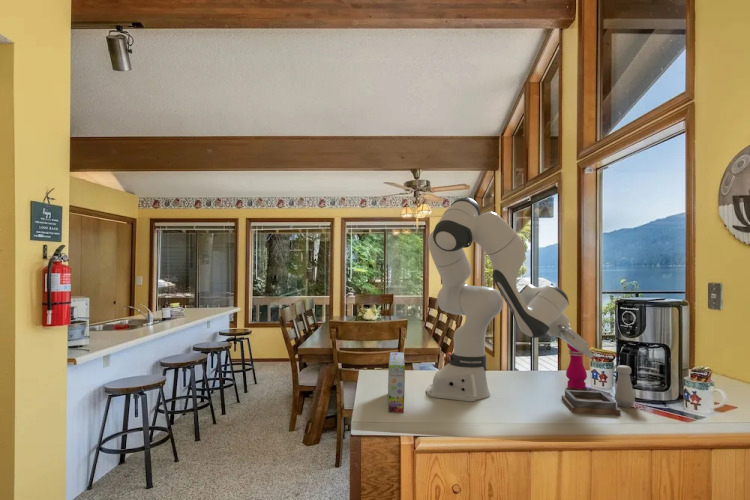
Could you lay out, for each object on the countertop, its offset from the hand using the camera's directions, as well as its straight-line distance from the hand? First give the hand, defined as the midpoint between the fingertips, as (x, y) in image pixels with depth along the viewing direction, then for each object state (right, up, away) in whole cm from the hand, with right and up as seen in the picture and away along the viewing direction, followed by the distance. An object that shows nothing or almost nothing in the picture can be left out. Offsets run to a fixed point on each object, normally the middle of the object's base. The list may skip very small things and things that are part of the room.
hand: (587, 353), depth 143 cm
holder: (-1, -17, -4) cm, 17 cm away
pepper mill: (+6, -18, +20) cm, 27 cm away
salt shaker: (+11, -17, -2) cm, 20 cm away
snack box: (-64, -17, +2) cm, 66 cm away
